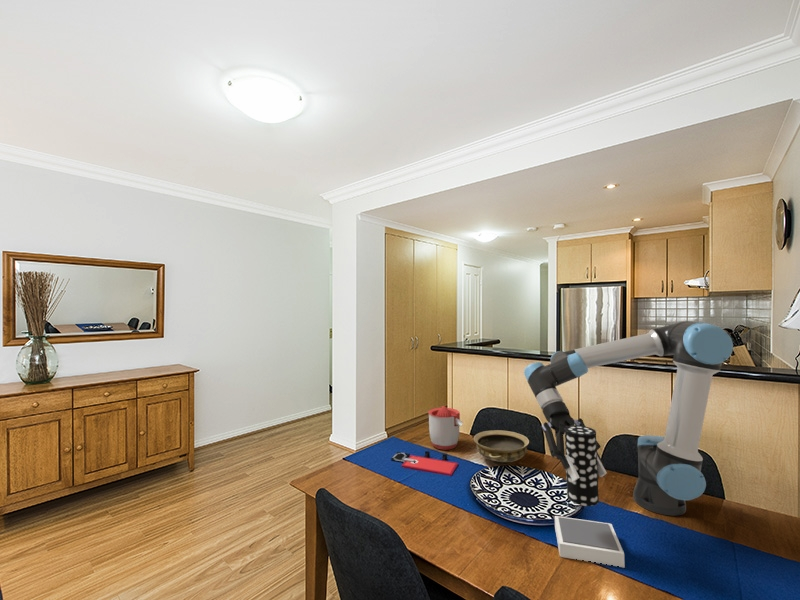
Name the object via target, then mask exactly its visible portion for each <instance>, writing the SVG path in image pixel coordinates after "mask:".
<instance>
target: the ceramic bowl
mask: <svg viewBox="0 0 800 600" xmlns="http://www.w3.org/2000/svg"><path fill="white" fill-rule="evenodd" d="M473 441H474V443H475V444H476V450H477V452H478V453H479V454H480V456H482V457H483V458H485V459H487V460H491V461H492V462H493V463H494V464H497V465H501V466H502V465H503V466H504V465H509V464H510V465H511V463H512V462H515V461H519V460H520V459H522V458H524V457H525V455H526V454H527V452H528V451H527V450H528V448H527V447H528V445H529V443H530V440H529V439H528V437H527V436H525V435H523V434H520V433H517V432H515V431H508V430H502V429H501V430H500V429H499V430H498V429H496V430H485V431H484V430H483V431H480V432H478V433H476V434H475V435H474V437H473Z"/></svg>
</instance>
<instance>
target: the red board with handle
mask: <svg viewBox="0 0 800 600" xmlns="http://www.w3.org/2000/svg"><path fill="white" fill-rule="evenodd" d="M430 453H431V452H430V450H429V451H428V450H425V451H424V456H418V455H413V454H410V453H406V452H399V451H397V452H396V453H394V455H393V456H392V457H391V458H390V460H392V461H397V462H403V463H402V464H401V466H400V467H404V468H403V469H407V468H409V469H408V470H413V469H415V470H414V471H419V470H420V471H419V472H425V471H426V473H431V472H432V474H438V475H442V476H443V475H444V476H450V477H452V476H453V475H454V473H455V471H456V469H457V467H458V466H459V462H454V461H448V454H447V453H442V459H436V458H431V457H430V455H431V454H430ZM414 462H415V463H414Z"/></svg>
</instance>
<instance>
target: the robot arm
mask: <svg viewBox="0 0 800 600" xmlns="http://www.w3.org/2000/svg"><path fill="white" fill-rule="evenodd" d="M733 350H734V343H733V339H732V337H731V336H730V335H729V334H728V332H727V331H726V330H725V329H723V328H721V327H720V326H718V325H716V324H712V323H707V322H695V321H689V320H688V321H679V322H675V323H671V324H668V325H663V326H660V327H656V328H653V329H650V330H649V331H648V333H643V334H639V335H634V336H629V337H625V338H620V339H615V340H611V341H608V342H607V341H606V342H602V343H599V344H593V345H588V346H584V347H580V348H574V349H570V350H565V351H563V350H559V351H556V352H554V353H552V355H551V357H550V363H548V364H547V365H545V364H543V363H542V362H540V361H539V362H537V361H536V362H531V363H530V364H528V365H527V366H526V367H525V368H524V370H523V373H524V376H525V379H526V381H527V383H528V386H529V387H530V390H531V391H532V393H533V395H534V397H535V399H536V402H537V403H538V406H539V408H540V409H541V410H542V413H543V415H544V418H545V419H546V421H547V422H546V421H545V422H544V423H543V424H542V425H541V427H540V428H541V430H542V431H543V434H544V435H545V438H546V439H545V440H546V442H547V446H548V450H549V452H550V453H549V454H550V456H551V457H552V458H556V459H557V460H560V463H561V465H562V467H563V469H565V470H566V469H567V471H568V473H569V475H570V477H571V479H572V481H576V480H577V479H578V478H580V477H579V475H578V473H577V471H576V469H575V467H574V465H573V464H572V462H571V460H570V458H569V456H568V455H566V452H565V437H564V436H565V427H567V426H572V425H578V426H585V427H587V426H586V425H585V422H584V421H583V420H584V419H583V418H578V419H574V418H573V417H572V416H571V414H570V410H569V408H568V406H567V405H566V403H565V402H564V399H563V397H562V396H561V393H559V390H558V389H557V387H558V386H560V385H562V384H565V383H567V382H570V381H572V380H575V379H577V378H580V377H582V376H583V375H585V374H587V373H588V372H589V369H590V368H596V367H599V366H604V365H605V366H606V365H610V364H614V363H620V362H626V361H631V360H634V359H635V360H636V359H639V358H644V357H650V356H655V355H656V356H659V357H664V356H673V357H672V358H673V359H672V362H673V364H674V365H675V366H676V367H677V368H676V369H677V370H676V375H675V381H674V384H673V385H674V386H673V391H672V397H671V403H670V406H669V410H668V411H669V412H668V416H667V417H668V418H667V423H666V428H665V433H664V436H661V435H640V436H639V437H638V438H637V445H636V446H637V457H638V459H637V461H638V465H637V466H638V478H637V481H636V484H635V486H634V489H633V492H632V493H633V500H634V502H635V503H636V504H637V505H638V506H640V507H641V508H643V509H645V510H648V511H650V512H651V513H656V514H660V515H664V516H671V517H672V516H675V517H676V516H681V515H684V514H685V513H686V512H687V503H686V501H692V500H694V499H698V498H699V497H700V496H702V495H703V493H704V492H705V490H706V487H707V481H706V479H705V476H704V474H703V473H702V472H701V471H702V464H703V462H704V461H703V460H704V459H703V456H702V455H701V454H700V453H699V447H700V441H701V436H702V432H703V431H702V430H703V426H704V420H705V416H706V415H705V414H706V409H707V405H708V399H709V395H710V390H711V385H712V384H711V383H712V379H713V375H715V374H717V373H719V372H721V368H722V365H723V362H725V361H727V360H728V359H729V358H730V357H731V355H732V353H733ZM553 430H554V432H553ZM554 436H555V437H554ZM596 444H597V451H598V450H599V449H600V448H601V444H600V443H599V442H598V441H597V440H596ZM597 470H598V477H599V478H603V477H604V476H606V474H608V473H607V471H606V469H605V467H604V465H603V461H602V458H601V456H600V454H599V453H598V452H597Z"/></svg>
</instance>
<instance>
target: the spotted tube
mask: <svg viewBox="0 0 800 600" xmlns="http://www.w3.org/2000/svg"><path fill="white" fill-rule="evenodd" d="M585 426H586V425H585ZM585 426H578V425H575V424H574V425H572V426H567V427H565V434H564V450H565V455H568V456H569V458H570V460H571V462H572V464H573V465H574V467H575V469H576V471H577V473H578V475H579V477H580V478H578V479H577V480H576V481H572V479H571V477H570V475H569V473H568V471H567V469H565V472H566V497H567V498H568V500H569V501H571V502H572V503H573V504H576V505H580V506H583V507H594V506H596V505H598V504H599V503H600V502H599V501H600V499H599V474H598V470H597V453H598V450H597V444H596V441H597V431H596V429H594V428H592V427H589V426H586V427H585Z"/></svg>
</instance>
